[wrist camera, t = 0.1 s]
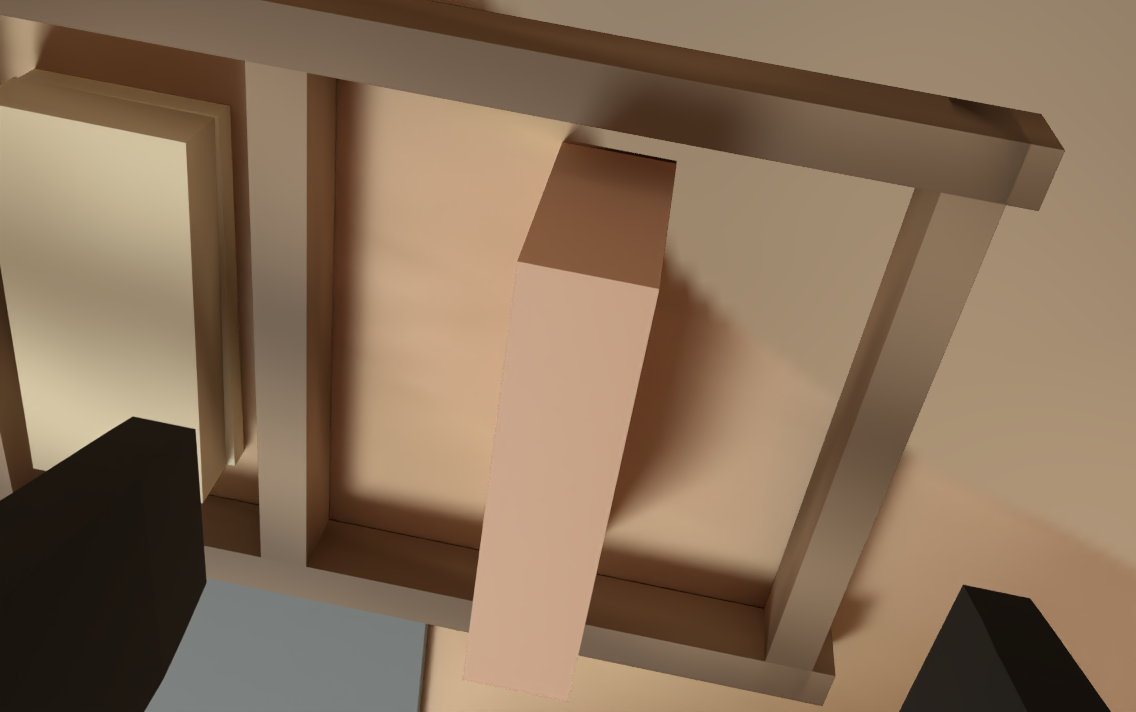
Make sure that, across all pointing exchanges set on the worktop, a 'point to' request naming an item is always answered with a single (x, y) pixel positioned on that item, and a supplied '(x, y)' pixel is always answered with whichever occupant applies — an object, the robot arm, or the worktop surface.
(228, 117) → the offcut lower
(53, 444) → the offcut upper
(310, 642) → the slate mat
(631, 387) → the dusty pink block
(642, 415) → the worktop surface
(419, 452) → the worktop surface
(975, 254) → the walnut rack
